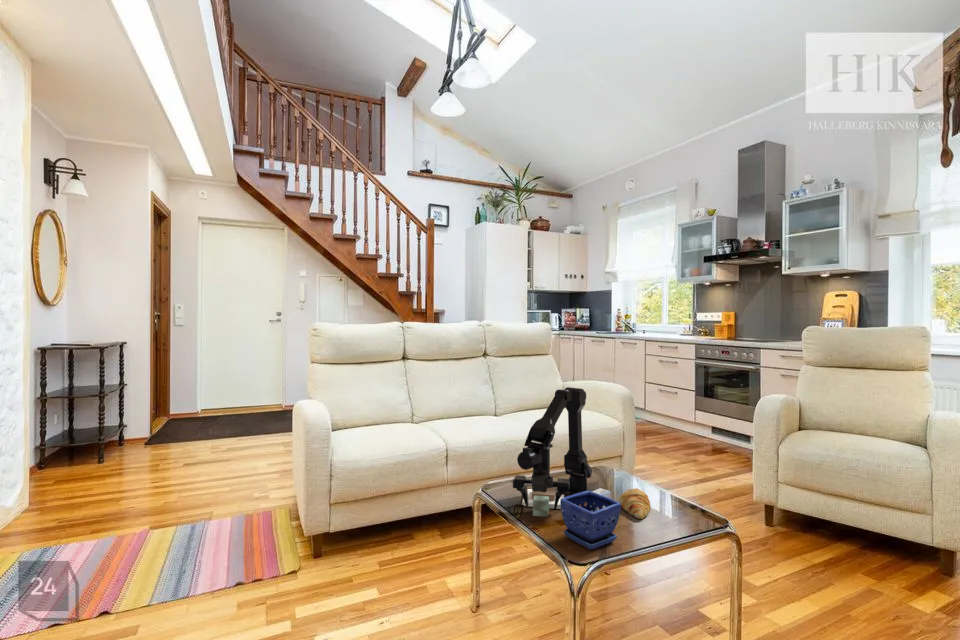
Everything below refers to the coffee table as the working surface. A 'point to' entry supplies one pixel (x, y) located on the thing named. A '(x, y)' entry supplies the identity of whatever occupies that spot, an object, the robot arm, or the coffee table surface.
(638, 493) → the croissant
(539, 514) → the sage cube
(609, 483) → the coffee table surface
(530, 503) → the baseboard
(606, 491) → the medicine box
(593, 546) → the flower pot
